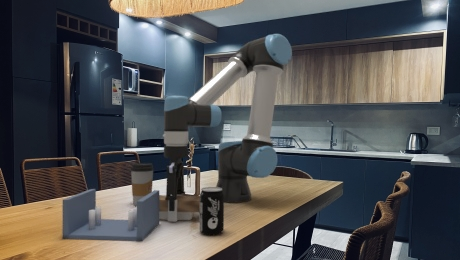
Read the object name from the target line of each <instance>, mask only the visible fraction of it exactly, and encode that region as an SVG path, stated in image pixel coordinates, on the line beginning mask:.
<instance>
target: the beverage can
mask: <svg viewBox="0 0 460 260" xmlns="http://www.w3.org/2000/svg"><path fill="white" fill-rule="evenodd" d="M199 196H200V212H199V231H200V232H201V234H202V235H204V236H218V235H221V234H222V232H224V230H225V229H224V228H225V226H224V225H225V224H224V223H225V222H224V221H225V220H224V217H225V216H224V215H225V214H224V213H225V209H224V208H225V202H224V194H223V192H222V188H219V187H216V186H208V187H207V186H206V187H202V188H201V191H200V193H199Z"/></svg>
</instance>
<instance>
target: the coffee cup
mask: <svg viewBox="0 0 460 260" xmlns="http://www.w3.org/2000/svg"><path fill="white" fill-rule="evenodd" d="M130 173H131V192H132V193H131V195H132V203H133V205H134V206H136V207H137V201H138V200H140V199H141V198H143V197H145V196H146V195H148V194H149V193H151V192H153V177H154V166H153V163H152V162H151V163H150V162H142V163H141V162H140V163H138V162H137V163H133V164H131V167H130Z"/></svg>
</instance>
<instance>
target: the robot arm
mask: <svg viewBox="0 0 460 260" xmlns="http://www.w3.org/2000/svg"><path fill="white" fill-rule="evenodd" d="M292 55H293V49H292V46H291V43H290V42H289V40H288V39H287V37H285V35H282V34H280V33H273V34H268V35H266V36H264V37H261V38H258V39H254V40H251V41H248V42H247V43H245V44H244V45H243V46H242V47H241V48H239V49H238V50H237V51H236V52H235V53H234V54H233V55H232V56H230V58H229V59H228V60H227V64H226V65H225V66H224V67H222V68H221V69H220V70H219V71H218V72H217V73H216V74H215V75H214V76H212V77H211V78H210V79H209V80H208V81H207V82H206V83H205V84H204V85H202V87H200V88H199V89H198V90H197V91H196V92H195V93H194V94H192V95H191V97H189V98H188V96H184V95H168V96H166V97H165V99H164V106H163V107H164V109H163V113H164V114H163V115H164V116H163V117H164V118H163V119H164V122H163V123H164V124H163V125H164V129H163V131H164V133H163V134H162V138H164V139H163V143H164V146H163V157H164V158H166V159H169V164H168V165H166V190H165V191H166V192H165V195H166V198H165V200H168V220H167V222H175V223H176V222H178V220H177V200H176V199H177V198H176V197H177V196H184V195H186V191H185V173H184V172H185V162H184V161H183V160H182V159H186V158H188V155H189V147H188V145H189V127H194V128H195V127H197V128H198V127H204V128H212V127H213V128H214V127H217V126H219V125H220V124H221V121H222V114H223V113H222V110H221V108H220V106H218V105H216V104H214V103H215V102H217V101H218V100H219V98H221V96H224V94H225V93H226V92H227V91H228V90H229V89H230V88H231V87H232V86H233V85H234V84H235V83H236V82H237V81H239V80H240V79H241V78H245V77H246V76H248V75H249V74H250V73H252V72H254V73H255V78H254V86H253V90H252V91H253V93H252V99H251V107H250V111H249V120H248V127H247V134H246V135H245V136H243V138H241V140H235V141H234V140H233V141H226V142H221V143H219V145H218V151H217V154H218V155H217V157H218V159H217V164H218V165H217V168H218V169H217V170H218V171H217V172H218V177H217V178H218V179H217V183H216V186H215V187H219V188H222V192H223V194H224V203H242V202H243V203H244V202H245V203H246V202H248V201H251V200H252V191H251V189H250V185H249V183H248V177H251V178H256V179H257V178H258V179H263V178H267V177H269V176H270V175H271V174H273V173H274V171H275V169H277V165H278V154H277V151H276V149H274V142H273V141H272V139H271V131H272V125H273V118H274V117H273V116H274V111H275V104H276V103H275V102H276V97H277V88H278V81H279V77H280V76H281V75H282V74H283V73H284V68H285V67H284V66H286V64H288V63H290V61H291V60H292V57H293V56H292Z"/></svg>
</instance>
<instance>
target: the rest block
mask: <svg viewBox="0 0 460 260" xmlns="http://www.w3.org/2000/svg"><path fill="white" fill-rule="evenodd" d="M192 219H193V212H177V221H191V220H192ZM159 220H167V221H168V212H162V211H159Z"/></svg>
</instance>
